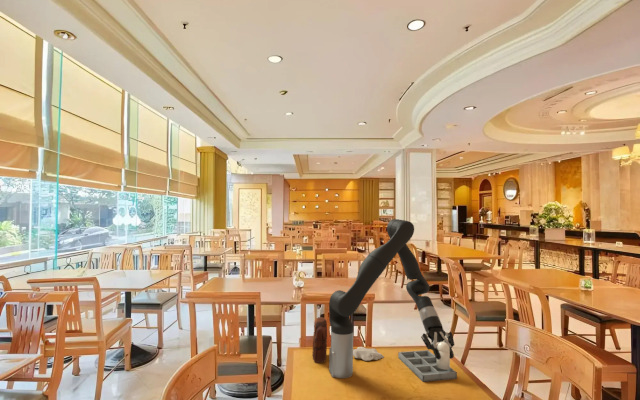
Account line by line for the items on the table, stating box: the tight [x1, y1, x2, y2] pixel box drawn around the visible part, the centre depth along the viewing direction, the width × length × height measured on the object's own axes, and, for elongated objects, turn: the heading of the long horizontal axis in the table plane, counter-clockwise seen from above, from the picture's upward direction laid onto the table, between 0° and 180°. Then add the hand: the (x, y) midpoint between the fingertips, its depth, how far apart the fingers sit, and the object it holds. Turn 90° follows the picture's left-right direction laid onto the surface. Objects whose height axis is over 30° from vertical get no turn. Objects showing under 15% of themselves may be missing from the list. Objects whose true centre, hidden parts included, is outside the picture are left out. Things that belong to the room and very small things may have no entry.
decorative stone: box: [353, 346, 385, 362], centre depth 155 cm, size 11×4×15 cm
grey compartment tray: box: [397, 349, 458, 383], centre depth 145 cm, size 15×22×3 cm, turn 12°
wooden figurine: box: [312, 316, 328, 364], centre depth 153 cm, size 12×6×18 cm, turn 3°
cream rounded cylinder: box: [436, 342, 451, 370], centre depth 139 cm, size 5×5×10 cm
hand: (445, 358), depth 137 cm, fingers closed on cream rounded cylinder, 5 cm apart
